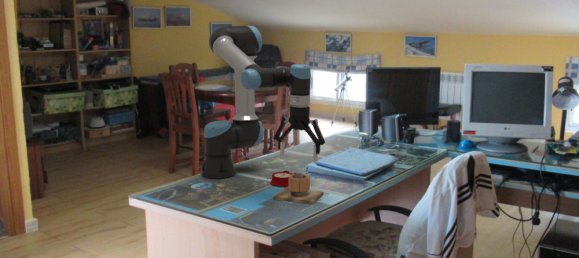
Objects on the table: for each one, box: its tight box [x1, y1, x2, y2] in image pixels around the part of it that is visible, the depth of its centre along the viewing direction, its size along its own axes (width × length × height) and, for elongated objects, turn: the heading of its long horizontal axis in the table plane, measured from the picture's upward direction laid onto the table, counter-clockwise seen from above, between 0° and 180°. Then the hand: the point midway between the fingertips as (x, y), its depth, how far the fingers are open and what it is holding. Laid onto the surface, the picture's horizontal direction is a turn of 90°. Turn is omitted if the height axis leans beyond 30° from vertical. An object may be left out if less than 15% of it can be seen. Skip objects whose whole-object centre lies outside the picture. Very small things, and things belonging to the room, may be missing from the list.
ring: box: [288, 173, 311, 192], centre depth 223 cm, size 8×8×5 cm
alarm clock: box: [266, 170, 297, 188], centre depth 243 cm, size 10×6×15 cm
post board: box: [273, 172, 325, 205], centre depth 224 cm, size 16×13×9 cm
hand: (298, 160), depth 222 cm, fingers open, 13 cm apart
